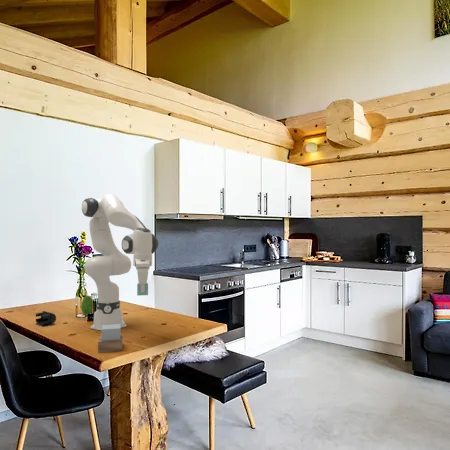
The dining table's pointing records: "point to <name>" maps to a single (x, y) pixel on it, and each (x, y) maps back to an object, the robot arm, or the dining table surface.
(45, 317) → the end cap
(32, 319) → the dining table surface
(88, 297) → the avocado
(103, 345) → the tower base
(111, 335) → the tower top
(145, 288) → the teal block
